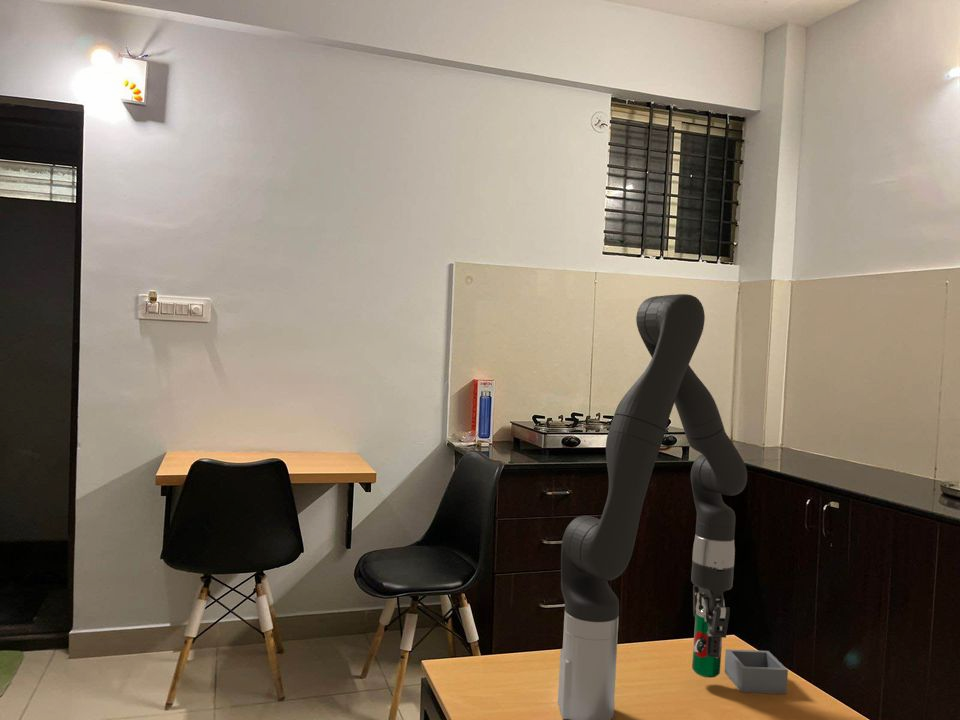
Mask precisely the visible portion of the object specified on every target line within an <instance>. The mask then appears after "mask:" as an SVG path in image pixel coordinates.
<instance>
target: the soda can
mask: <svg viewBox="0 0 960 720" xmlns="http://www.w3.org/2000/svg"><path fill="white" fill-rule="evenodd" d="M709 618H710V619H713V616H709ZM716 630H718V629H716ZM693 631H694V632H693V633H694V634H693V649H692V664H691V669H692V671H693V672H694V673H695V674H696V675H698V676H700V677H704V678H710V679H711V678H716V677H718V676H719V675H720V674H721V663H722V648H723V647H722V646H723V637H720V649H719V656H718V657H709V656H708V655H707V654H706V647H707V635H708V634H707V623H705V622H704V611H703V608H701V607H698V611H697V612H696V615H695V617H694V630H693Z"/></svg>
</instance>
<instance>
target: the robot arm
mask: <svg viewBox="0 0 960 720" xmlns="http://www.w3.org/2000/svg"><path fill="white" fill-rule="evenodd" d="M705 319H706V315H705V309H704V306H703V303H702V302H701V301H700V300H699V299H698V297H696V296H695V295H691V294H687V293H686V294H685V293H681V294H680V293H678V294H667V295H666V294H665V295H655V296H651V297H648V298H646V299H645V300H643V301H642V303H641V304H640V305H639V306H638V309H637V312H636V317H635V321H636V327H637V331H638V333H639V336H640V339H641V340H642V342H643V344H644V346H645V348H646V350H647V351H648V353H649V355H650V357H651V360H650V361H649V364H648V365H647V367H646V369H645V370H644V372H643V373H642V374H641V375H640V376H639V377H638V378H637V379H636V381H635V382H634V383H633V384H632V385H631V387H630V388H629V390H628V391H627V392H626V393H624V396H623V397H622V398H621V400H620V401H619V402H618V405H616V406H617V407H616V409H615V411H614V414H613V417H612V421H611V423H610V427H609V428H608V433H607V437H606V440H605V458H606V467H607V473H608V474H607V475H608V493H607V496H606V497H607V498H606V502H605V504H604V508H603V510H602V514H601V517H600V518H597V517H594V516H591V515H581V516H577V517H575V518H574V519H572V520H571V522H570V523H569V524H568V525H567V527H566V528H565V531H564V533H563V536H562V541H561V548H560V549H561V553H560V587H561V588H560V590H561V594H562V597H563V601H564V616H563V617H564V619H563V635H562V636H563V637H562V639H563V640H562V648H561V649H560V652H559V653H560V654H559V674H558V691H557V692H558V693H557V704H558V707H559V711H560V715H561V718H562V719H563V720H613V718H614V714H615V694H616V677H617V676H616V675H617V673H616V672H617V659H618V658H617V656H618V655H617V654H618V653H617V652H618V632H619V619H620V618H619V617H620V616H619V614H620V601H619V598H618V596H617V594H616V593H614V590H613V589H612V587H611V586H610V584H609V582H608V581H613V580H616V579H617V578H618V577H619V576H621V575H622V574H623V573H624V572H625V571H626V569H627V567H628V565H629V563H630V560H631V558H632V555H633V552H634V547H635V543H636V537H637V535H638V529H639V524H640V520H641V519H640V518H641V515H642V509H643V505H644V501H645V499H646V494H647V491H648V488H649V483H650V480H651V477H652V473H653V469H654V467H655V463H656V461H657V458H658V456H659V453H660V450H661V447H662V443H663V440H664V437H665V434H666V431H667V428H668V424H669V420H670V416H671V413H672V410H673V407H674V406H675V408H676V410H677V414H678V416H679V419H680V421H681V426H682V428H683V431H684V433H685V436H686V440H687V443H688V444H689V446H690V447H691V449H693V450H695V451H696V452H698V453H700V454H699V455H698V456H697V457H696V458H695V460H694V462H693V464H692V465H691V470H690V483H691V484H690V485H691V489H692V490H691V491H692V495H693V496H692V497H693V501H694V504H695V505H694V506H695V511H696V518H695V519H696V521H695V535H694V541H693V547H692V559H691V560H692V562H691V565H692V566H691V575H690V581H691V583H692V584H693V587H692V611H693V612H692V614H693V615H692V616H693V617H694V618H695V615H696V612H697V611H698V607H701V608H703V611H704V622H705V623H707V634H708V635H707V647H706V654H707V655H708V656H709V657H718V656H719V649H720V637H722V639H723V638H724V639H725V638H727V633H728V629H729V628H728V627H729V620H730V615H731V614H730V613H731V609H730V607H726V605H725V598H724V593H725V592H726V591H729V590H731V589H732V588H733V586H734V585H733V584H734V583H733V582H734V569H735V558H736V557H735V555H736V553H735V552H736V548H735V547H736V546H735V534H736V533H735V532H736V513H735V510H734V509H733V508H732V507H730V506H728V505H727V504H726V503H725V502H724V501H723V497H722V495H724V496H729V497H731V496H733V497H734V496H736V495H739V494H740V493H742V492H743V491H744V489H745V488H746V485H747V482H748V471H747V467H746V464H745V461H744V459H743V457H742V456H741V454H740V452H739V451H738V449H737V447H736V446H735V445H734V443H733V440H731V438H730V437H729V436H728V434H727V433H726V430H725V426H724V423H723V421H722V417H721V414H720V411H719V408H718V406H717V404H716V401H715V399H714V397H713V395H712V393H711V391H709V389H708V388H707V386H706V385H705V384H704V382H702V380H701V379H700V378H699V377H698V375H697V374H696V373H695V372H694V370H693V369H692V367H691V365H690V363H691V360H692V358H693V356H694V353H695V351H696V349H697V347H698V345H699V342H700V340H701V337H702V335H703V332H704V328H705ZM709 616H713V619H710V618H709ZM716 629H718V630H716Z"/></svg>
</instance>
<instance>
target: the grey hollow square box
mask: <svg viewBox="0 0 960 720" xmlns="http://www.w3.org/2000/svg"><path fill="white" fill-rule="evenodd" d="M724 656H725V657H724V658H725V659H724V673H725V674H726V675H727V677H728V678H729V679H730V680H731V682H732V683H733V684H734V685H735V686H737V687H736V688H737V689H738V690H739V692H741V693H750V692H751V694H753V693H755V694H756V693H757V694H776V695H778V694H781V695H787V693H788V678H789V677H788V674H789V670H788V669H787V667H786V666H784V664H782V662H780V661H779V660H778V658H777V657H776V656H774V655H773V653H771V652H770V650H753V649H752V650H751V649H750V650H749V649H730V648H729V649H728V648H727V649H726V648H725V655H724Z"/></svg>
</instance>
